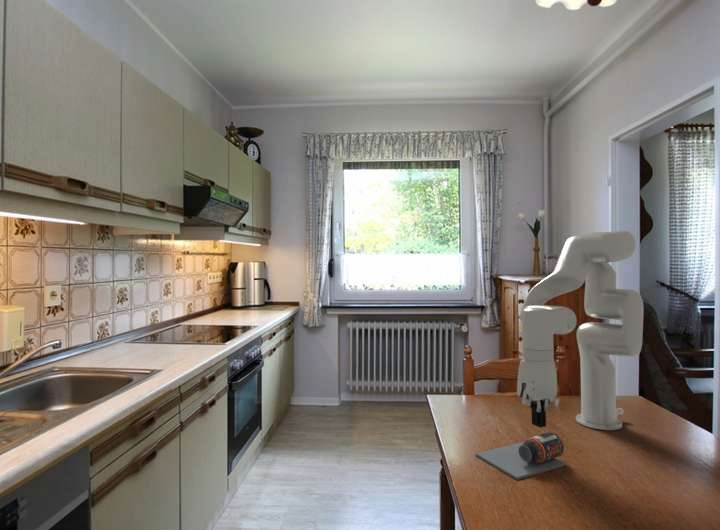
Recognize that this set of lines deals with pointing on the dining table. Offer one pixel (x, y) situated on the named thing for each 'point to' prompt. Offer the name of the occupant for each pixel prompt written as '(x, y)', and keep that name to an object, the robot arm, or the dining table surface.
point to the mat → (516, 462)
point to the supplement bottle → (541, 448)
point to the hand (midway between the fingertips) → (538, 425)
